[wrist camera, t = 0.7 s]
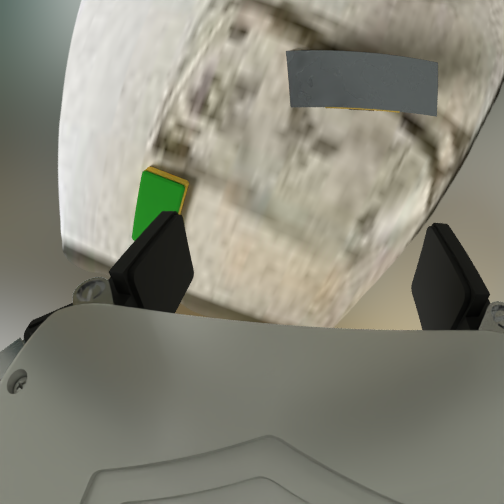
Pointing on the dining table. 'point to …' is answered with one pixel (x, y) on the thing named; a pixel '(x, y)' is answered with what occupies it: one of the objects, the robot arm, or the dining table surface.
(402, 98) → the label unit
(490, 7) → the dining table surface
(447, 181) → the dining table surface
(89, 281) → the robot arm
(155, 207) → the dish sponge
